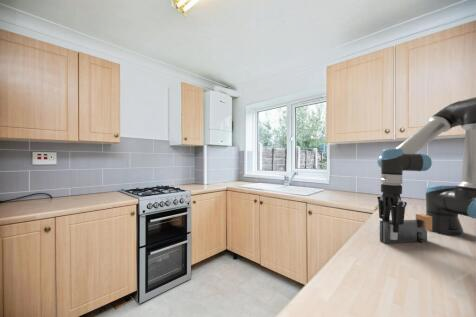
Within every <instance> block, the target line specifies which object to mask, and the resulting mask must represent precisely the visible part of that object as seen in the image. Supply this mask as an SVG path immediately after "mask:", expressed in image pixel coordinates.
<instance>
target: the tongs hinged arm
mask: <svg viewBox="0 0 476 317" xmlns="http://www.w3.org/2000/svg"><path fill="white" fill-rule="evenodd" d="M395 222H396V221H395ZM391 223H392V222H383V242H382V243H384V244H391V243H392V244H393V243H394V244H396V243H414V242H415V243H416V242H417V222H416V221H404V224H403V225H399V232H398V237H397V240H391V239H390V227H391ZM417 243H418V242H417Z"/></svg>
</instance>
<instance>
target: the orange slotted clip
mask: <svg viewBox="0 0 476 317" xmlns="http://www.w3.org/2000/svg"><path fill="white" fill-rule="evenodd" d="M415 220H422V221H424V230H425V231H427V232H431V231H432V216H428V215H426V214H425V213H424V214H423V213H416V214H415Z"/></svg>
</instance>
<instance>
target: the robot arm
mask: <svg viewBox="0 0 476 317" xmlns="http://www.w3.org/2000/svg"><path fill="white" fill-rule="evenodd" d="M459 126H460V127H461V128H462V129H463V130H464V131H465V133H464V134H465V135H464V143H463V144H464V146H463V156H462V168H461V176H460V177H461V178H460V182H459V183H457V184H455V185H429V186H427V187H426V189H425V190H426V191H425V207H426V208H425V209H426V210H425V215H428V216H432V231H430V232H431V233H435V234H440V235H446V236H455V237H458V236H463V235H464V229H463V227H462V224H461V221H460V219H459V215H460V216H465V217H469V218H472V219H475V220H476V96H475V97H471V98H467V99H464V100H458V101H456V102H453V103H450V104H448V105H447V106H445V107H444V108H441V110H439V111H438V112H436V113H435V114H433V115H432V116H431V117H430V118H429V119H428V121H427V122H426V124H424V125H423V126H422V127H420V128H419V129H418V130H417V131H415V132H414V133H413V134H412V135H411V136H409V137H408V138H407V139H405V140H404V141H403V142H402V143H400V144H399V145H398V146H396V147H395V148H384V149H383V150H382V151H381V155H379V157H378V158H377V162H376V163H377V165H378V167H379V168H381V169H380V172H381V173H380V178H381V180H380V182H381V184H380V192H381V193H382V194H381V196H377V202H378V218H379V219H381V221H386V220H392V223H391V227H390V239H391V240H397V237H398V232H399V225H403V224H404V220H405V213H406V206H407V201H403V200H402V198H401V195H402V194H403V172H407V171H408V172H426V171H428V170H430V168H431V167H432V163H433V161H432V158H431V157H430V156H429V155H427V154H425V153H423V154H421V153H418V152H419V151H420V150H422V149H423V148H424V147H425V146H427V145H428V144H429V143H431V142H433V140H434V139H436V138H437V137H438V136H439V135H441V134H442V133H446V132H448V131H449V130H451V129H452V128H455V127H459ZM390 217H391V218H390ZM395 221H396V222H395Z"/></svg>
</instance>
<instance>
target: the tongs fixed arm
mask: <svg viewBox="0 0 476 317" xmlns="http://www.w3.org/2000/svg"><path fill="white" fill-rule="evenodd" d="M404 221H416V222H417V243H419V244H420V243H423V242H426V241H428V231H425V230H424V221H422V220H416V219H404ZM383 222H392V219H390V220H386V221H383V220H379V242H381V243H384V242H383Z"/></svg>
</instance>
